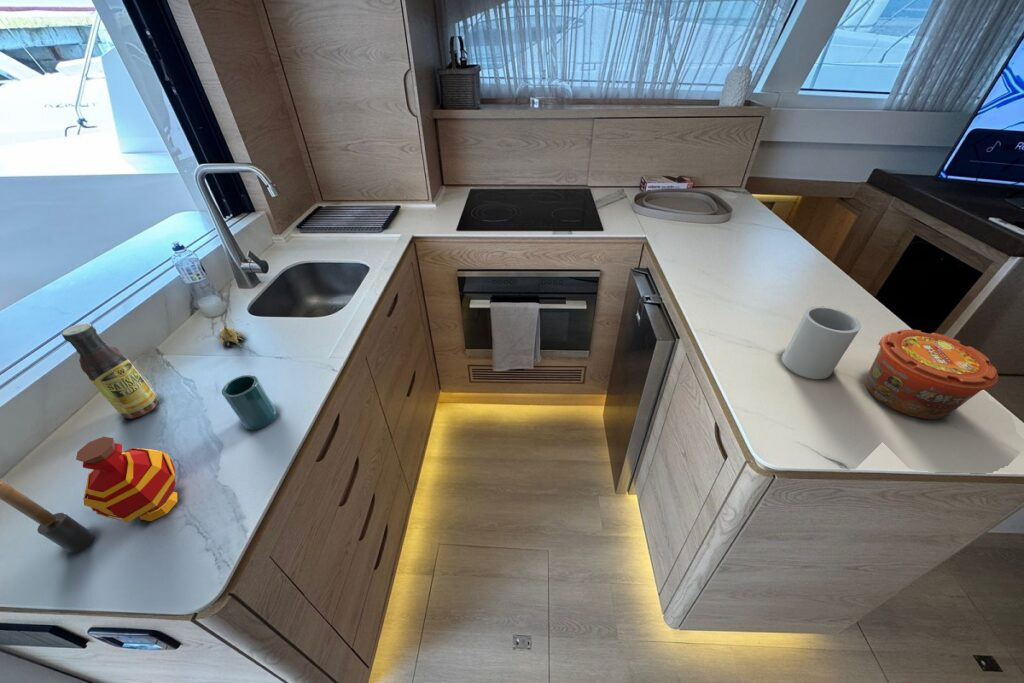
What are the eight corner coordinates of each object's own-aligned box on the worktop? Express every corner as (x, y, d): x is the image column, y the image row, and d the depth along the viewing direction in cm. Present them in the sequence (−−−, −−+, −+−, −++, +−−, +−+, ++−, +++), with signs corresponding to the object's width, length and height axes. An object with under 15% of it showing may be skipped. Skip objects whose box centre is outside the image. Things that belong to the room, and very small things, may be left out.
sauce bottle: (138, 423, 77) (63, 344, 65) (115, 416, 79) (38, 338, 66) (169, 399, 82) (105, 322, 70) (147, 394, 84) (81, 317, 71)
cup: (777, 348, 89) (799, 303, 82) (823, 354, 87) (850, 309, 80) (787, 375, 82) (813, 329, 75) (837, 382, 80) (868, 335, 73)
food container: (835, 371, 83) (862, 330, 76) (907, 364, 84) (939, 324, 77) (901, 431, 70) (939, 388, 64) (984, 423, 71) (1031, 380, 64)
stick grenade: (92, 546, 58) (-38, 460, 45) (66, 556, 57) (-75, 472, 44) (96, 528, 61) (-26, 441, 47) (71, 538, 59) (-62, 452, 46)
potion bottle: (208, 495, 64) (153, 437, 55) (135, 550, 58) (59, 496, 48) (178, 466, 69) (123, 408, 60) (107, 514, 62) (32, 458, 53)
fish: (237, 330, 102) (227, 314, 99) (256, 347, 94) (245, 329, 91) (216, 339, 99) (205, 322, 96) (234, 357, 91) (223, 339, 88)
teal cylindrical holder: (278, 422, 76) (258, 389, 71) (244, 434, 74) (221, 401, 69) (275, 403, 80) (256, 370, 75) (243, 414, 78) (221, 382, 73)
